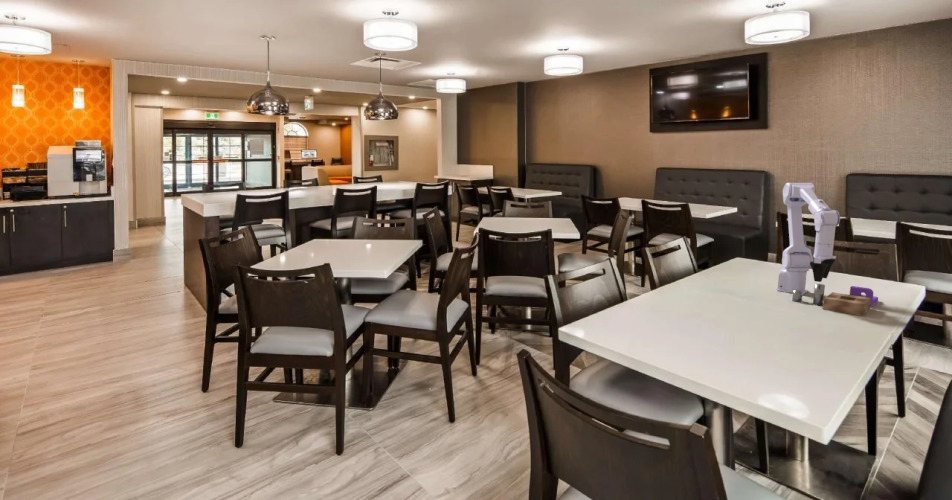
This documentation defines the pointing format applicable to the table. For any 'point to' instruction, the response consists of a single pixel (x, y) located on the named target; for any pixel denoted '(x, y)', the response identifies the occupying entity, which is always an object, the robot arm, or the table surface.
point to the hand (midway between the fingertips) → (820, 279)
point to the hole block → (847, 303)
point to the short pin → (797, 295)
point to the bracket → (858, 290)
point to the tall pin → (818, 294)
